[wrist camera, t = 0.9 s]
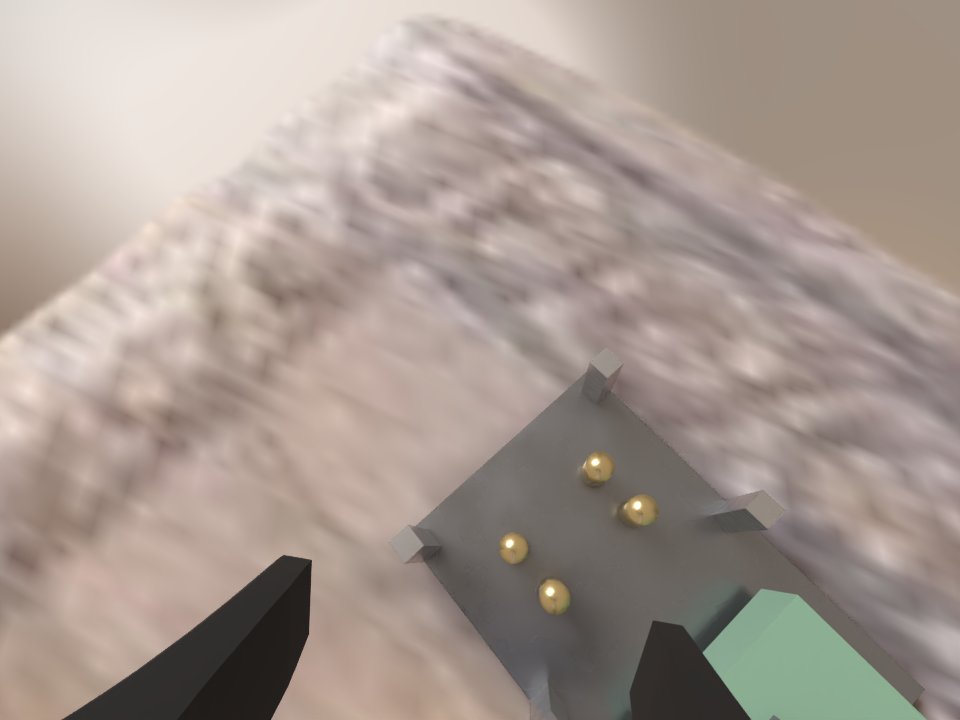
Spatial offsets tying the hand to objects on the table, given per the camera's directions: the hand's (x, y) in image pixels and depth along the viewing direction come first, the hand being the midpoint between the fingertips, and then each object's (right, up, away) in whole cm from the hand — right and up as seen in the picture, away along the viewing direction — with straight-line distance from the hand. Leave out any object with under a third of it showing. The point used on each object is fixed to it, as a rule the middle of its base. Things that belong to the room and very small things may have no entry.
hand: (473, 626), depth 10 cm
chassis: (+7, -5, +12) cm, 15 cm away
